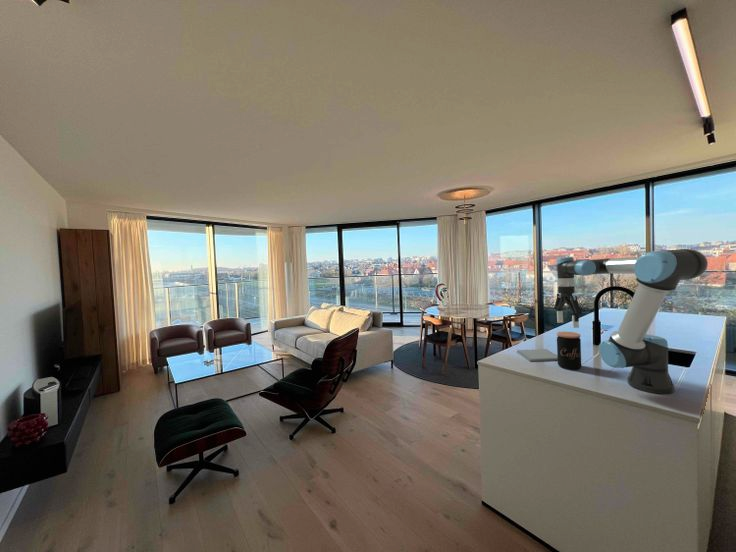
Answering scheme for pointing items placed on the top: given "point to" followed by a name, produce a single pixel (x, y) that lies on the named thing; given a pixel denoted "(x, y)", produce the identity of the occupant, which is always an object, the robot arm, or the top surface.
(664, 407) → the top surface
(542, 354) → the plate
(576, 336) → the coffee jar
